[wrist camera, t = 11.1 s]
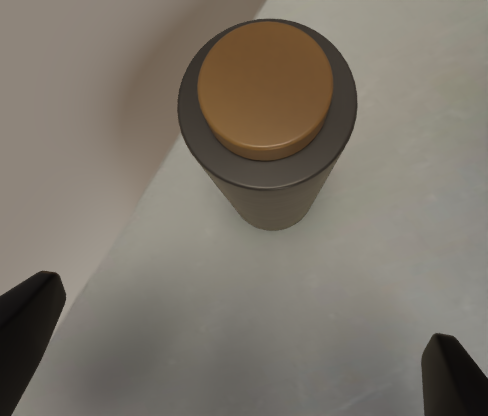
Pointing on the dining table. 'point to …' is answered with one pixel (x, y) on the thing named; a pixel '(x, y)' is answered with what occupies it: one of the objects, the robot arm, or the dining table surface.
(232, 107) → the pepper mill
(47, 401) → the dining table surface
